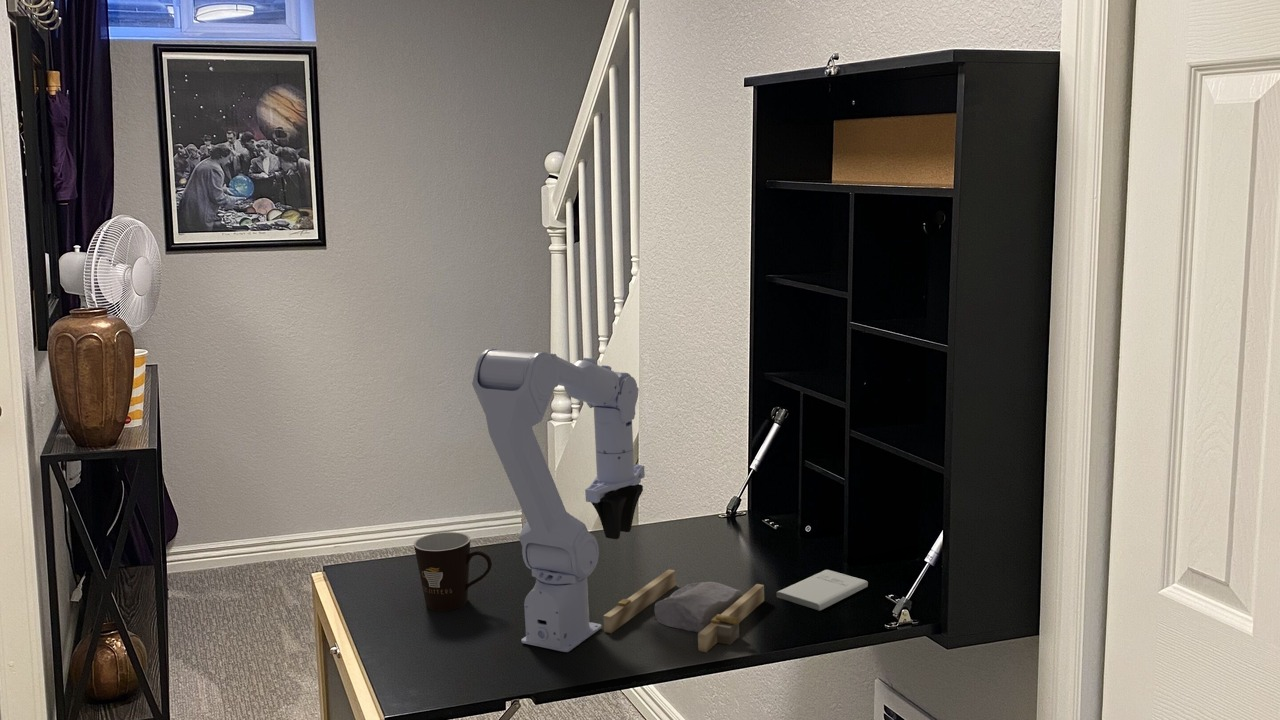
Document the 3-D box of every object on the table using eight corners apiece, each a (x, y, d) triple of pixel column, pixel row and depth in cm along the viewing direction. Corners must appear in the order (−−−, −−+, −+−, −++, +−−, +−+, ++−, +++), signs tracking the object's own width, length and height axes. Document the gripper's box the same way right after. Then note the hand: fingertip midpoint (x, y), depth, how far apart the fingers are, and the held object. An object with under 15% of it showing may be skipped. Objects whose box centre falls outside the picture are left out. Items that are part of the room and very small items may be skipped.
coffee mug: (407, 604, 182) (402, 543, 180) (451, 587, 188) (447, 528, 186) (454, 623, 174) (449, 559, 172) (498, 605, 180) (494, 543, 178)
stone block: (650, 634, 172) (705, 636, 166) (644, 602, 172) (699, 603, 166) (695, 609, 181) (749, 610, 175) (690, 579, 181) (744, 579, 175)
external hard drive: (776, 601, 179) (825, 577, 187) (819, 614, 173) (868, 589, 182) (776, 590, 179) (825, 568, 187) (819, 604, 173) (868, 579, 181)
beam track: (723, 655, 159) (722, 631, 159) (604, 631, 168) (602, 609, 168) (780, 603, 176) (779, 581, 176) (668, 584, 186) (668, 563, 185)
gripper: (612, 464, 169) (616, 553, 172) (660, 440, 182) (663, 523, 184) (571, 459, 173) (576, 546, 175) (621, 436, 185) (624, 518, 188)
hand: (618, 534), depth 180 cm, fingers open, 3 cm apart
